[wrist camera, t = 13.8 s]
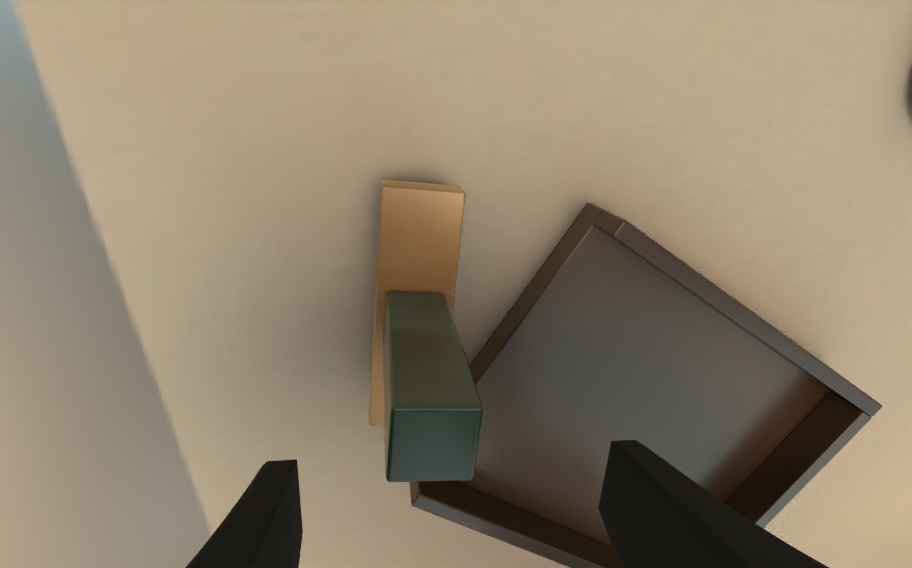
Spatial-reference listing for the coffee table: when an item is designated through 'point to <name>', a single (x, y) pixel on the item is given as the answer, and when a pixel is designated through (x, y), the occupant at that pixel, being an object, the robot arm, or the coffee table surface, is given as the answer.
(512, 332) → the tray
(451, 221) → the brush
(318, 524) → the coffee table surface
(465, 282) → the coffee table surface
